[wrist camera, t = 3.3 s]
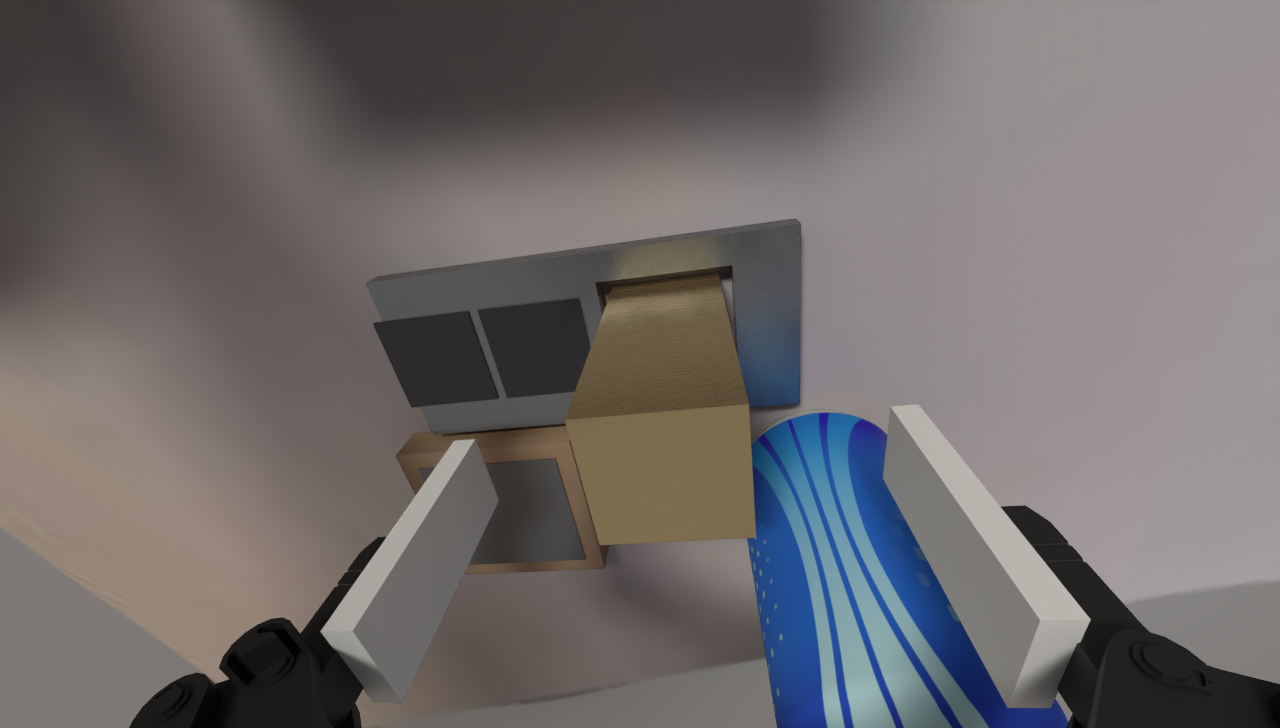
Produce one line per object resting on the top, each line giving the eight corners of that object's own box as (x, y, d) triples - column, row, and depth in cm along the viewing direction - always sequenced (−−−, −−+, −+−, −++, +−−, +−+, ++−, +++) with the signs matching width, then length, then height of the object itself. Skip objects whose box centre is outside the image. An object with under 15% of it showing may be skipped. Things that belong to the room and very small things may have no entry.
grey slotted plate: (433, 425, 27) (424, 436, 26) (368, 277, 23) (355, 285, 22) (795, 392, 25) (799, 404, 24) (795, 218, 20) (801, 224, 19)
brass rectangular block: (630, 375, 25) (599, 545, 15) (612, 285, 23) (564, 420, 13) (725, 365, 24) (756, 537, 15) (718, 272, 22) (748, 404, 12)
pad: (468, 549, 33) (455, 576, 31) (413, 434, 28) (394, 457, 26) (608, 542, 31) (604, 569, 29) (576, 419, 26) (568, 443, 25)
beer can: (712, 431, 26) (749, 802, 12) (864, 374, 24) (1127, 755, 10) (767, 528, 30) (846, 908, 16) (905, 487, 27) (1146, 891, 13)
